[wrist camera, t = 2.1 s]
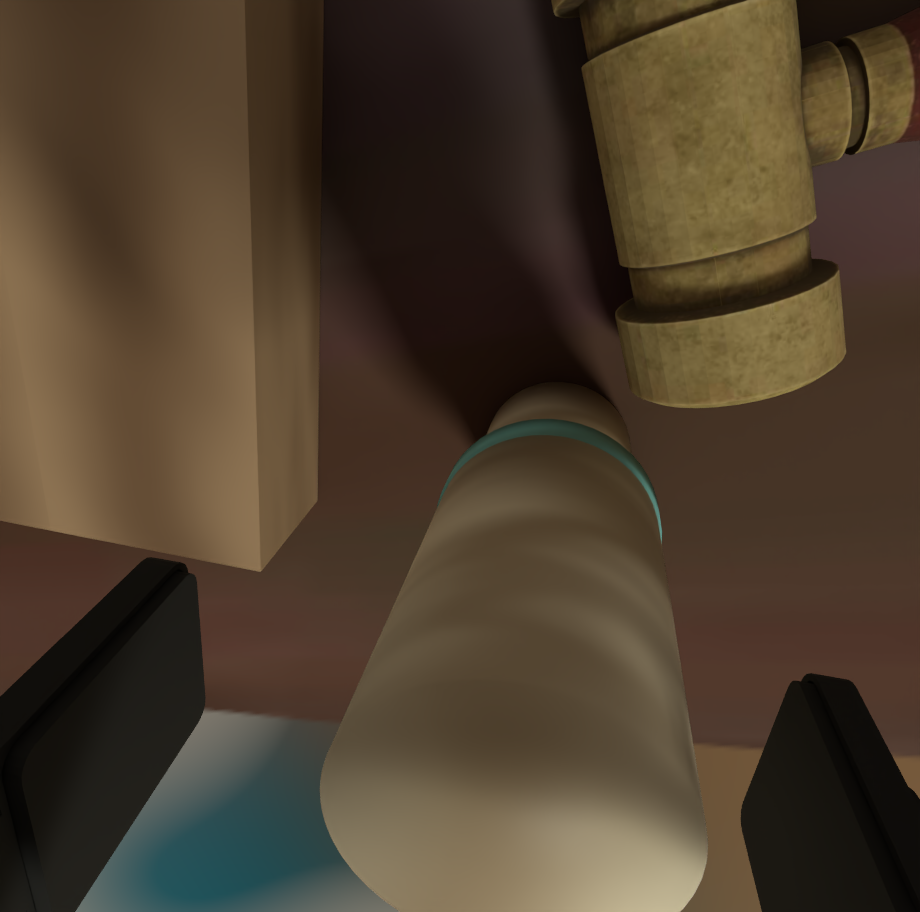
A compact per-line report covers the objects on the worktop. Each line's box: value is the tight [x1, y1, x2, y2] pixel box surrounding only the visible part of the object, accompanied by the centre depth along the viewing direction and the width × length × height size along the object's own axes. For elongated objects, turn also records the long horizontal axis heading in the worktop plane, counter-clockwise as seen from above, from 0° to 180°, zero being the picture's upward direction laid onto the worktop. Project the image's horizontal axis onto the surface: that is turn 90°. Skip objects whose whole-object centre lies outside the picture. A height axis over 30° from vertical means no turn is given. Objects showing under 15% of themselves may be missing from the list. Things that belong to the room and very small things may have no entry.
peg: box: [320, 382, 708, 912], centre depth 14 cm, size 5×5×12 cm
